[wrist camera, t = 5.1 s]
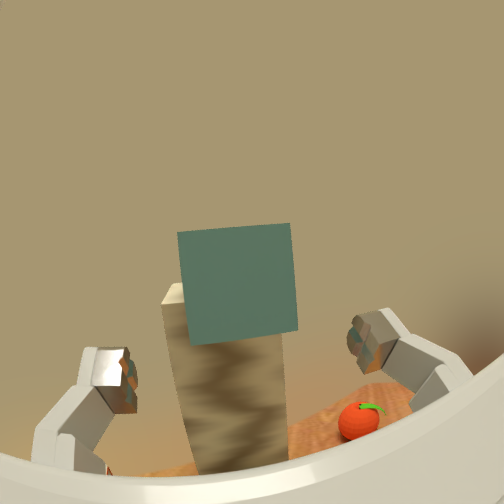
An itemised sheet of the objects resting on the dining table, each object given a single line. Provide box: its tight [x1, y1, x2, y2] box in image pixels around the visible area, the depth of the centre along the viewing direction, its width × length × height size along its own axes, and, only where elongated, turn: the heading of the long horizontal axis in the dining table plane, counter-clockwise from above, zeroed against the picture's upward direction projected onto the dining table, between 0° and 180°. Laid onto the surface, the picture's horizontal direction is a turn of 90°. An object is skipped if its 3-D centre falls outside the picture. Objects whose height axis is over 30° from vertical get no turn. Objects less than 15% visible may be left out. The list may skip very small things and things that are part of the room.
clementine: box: [338, 402, 386, 440], centre depth 37 cm, size 8×7×7 cm
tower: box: [161, 283, 289, 475], centre depth 25 cm, size 8×12×30 cm, turn 12°
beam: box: [177, 223, 298, 346], centre depth 21 cm, size 4×22×4 cm, turn 12°
